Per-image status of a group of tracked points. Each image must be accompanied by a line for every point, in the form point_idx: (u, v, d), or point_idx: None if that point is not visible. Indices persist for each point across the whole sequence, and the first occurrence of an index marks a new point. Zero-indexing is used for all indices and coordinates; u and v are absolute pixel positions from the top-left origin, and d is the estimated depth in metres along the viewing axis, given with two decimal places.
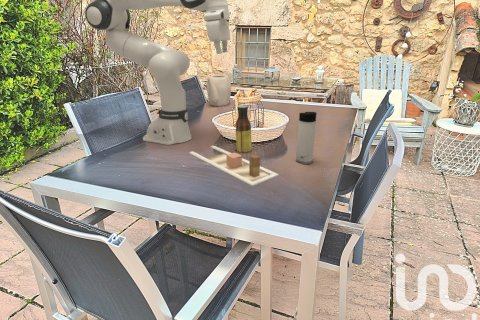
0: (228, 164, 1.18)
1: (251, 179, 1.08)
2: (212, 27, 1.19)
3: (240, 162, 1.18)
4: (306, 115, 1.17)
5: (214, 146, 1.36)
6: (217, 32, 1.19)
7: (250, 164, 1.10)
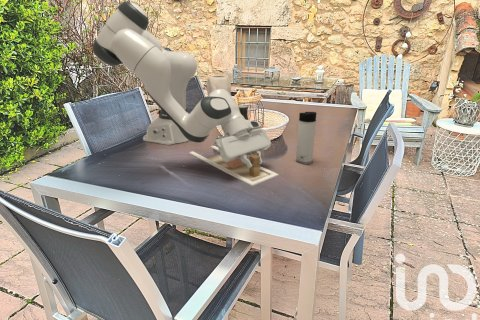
0: (228, 164, 1.18)
1: (251, 179, 1.08)
2: None
3: (240, 162, 1.18)
4: (306, 115, 1.17)
5: (214, 146, 1.36)
6: None
7: None
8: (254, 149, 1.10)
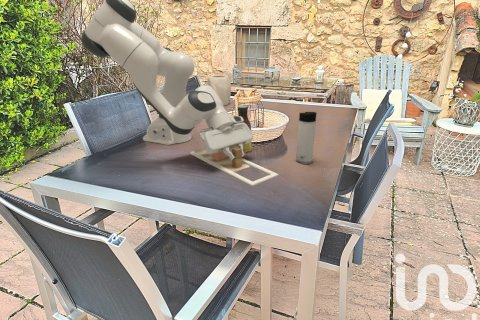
0: (213, 157, 1.25)
1: (233, 170, 1.15)
2: None
3: (224, 155, 1.25)
4: (306, 115, 1.17)
5: None
6: None
7: None
8: (236, 142, 1.17)
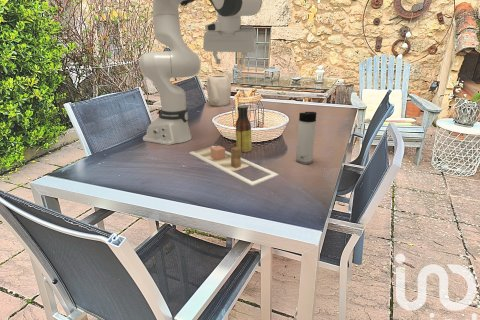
0: (212, 156, 1.25)
1: (232, 170, 1.15)
2: None
3: (223, 154, 1.25)
4: (306, 115, 1.17)
5: (214, 146, 1.36)
6: (203, 43, 1.25)
7: (231, 156, 1.17)
8: None
